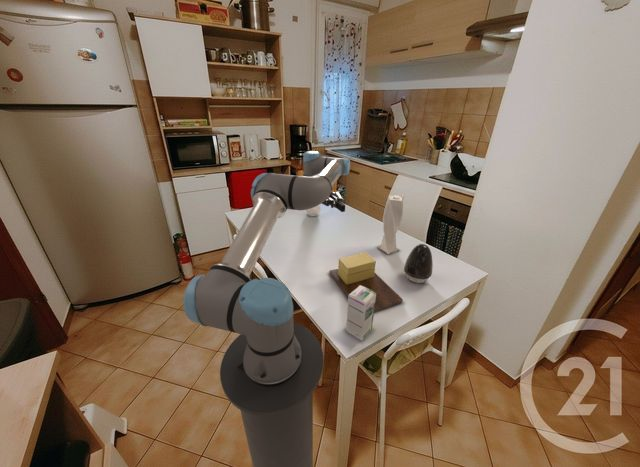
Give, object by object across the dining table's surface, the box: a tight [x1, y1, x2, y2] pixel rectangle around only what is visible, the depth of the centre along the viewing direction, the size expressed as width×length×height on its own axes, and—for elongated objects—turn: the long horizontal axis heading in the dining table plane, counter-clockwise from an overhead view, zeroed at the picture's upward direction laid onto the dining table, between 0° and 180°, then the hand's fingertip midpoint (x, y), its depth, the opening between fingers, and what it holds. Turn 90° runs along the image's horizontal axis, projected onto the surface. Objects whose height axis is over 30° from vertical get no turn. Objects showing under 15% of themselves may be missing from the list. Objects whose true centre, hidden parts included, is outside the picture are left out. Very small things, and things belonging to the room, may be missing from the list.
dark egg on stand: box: [403, 243, 434, 284], centre depth 99 cm, size 10×10×15 cm
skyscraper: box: [377, 193, 405, 255], centre depth 115 cm, size 8×8×28 cm
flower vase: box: [304, 205, 321, 217], centre depth 151 cm, size 13×18×25 cm
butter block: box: [337, 265, 376, 284], centre depth 101 cm, size 12×7×4 cm, turn 114°
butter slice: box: [338, 252, 377, 275], centre depth 99 cm, size 12×7×3 cm, turn 114°
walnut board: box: [328, 268, 404, 313], centre depth 98 cm, size 16×25×2 cm, turn 24°
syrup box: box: [346, 285, 376, 341], centre depth 76 cm, size 6×6×14 cm
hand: (343, 208), depth 102 cm, fingers closed
